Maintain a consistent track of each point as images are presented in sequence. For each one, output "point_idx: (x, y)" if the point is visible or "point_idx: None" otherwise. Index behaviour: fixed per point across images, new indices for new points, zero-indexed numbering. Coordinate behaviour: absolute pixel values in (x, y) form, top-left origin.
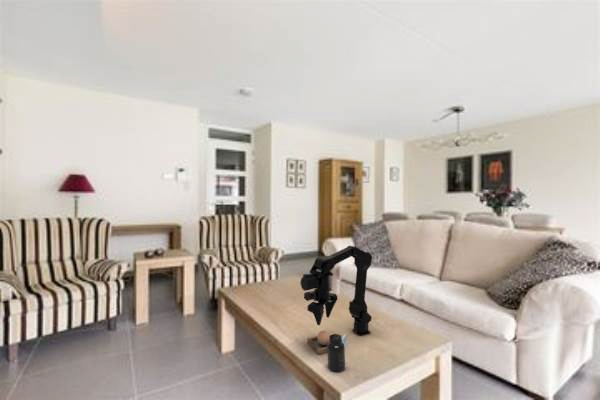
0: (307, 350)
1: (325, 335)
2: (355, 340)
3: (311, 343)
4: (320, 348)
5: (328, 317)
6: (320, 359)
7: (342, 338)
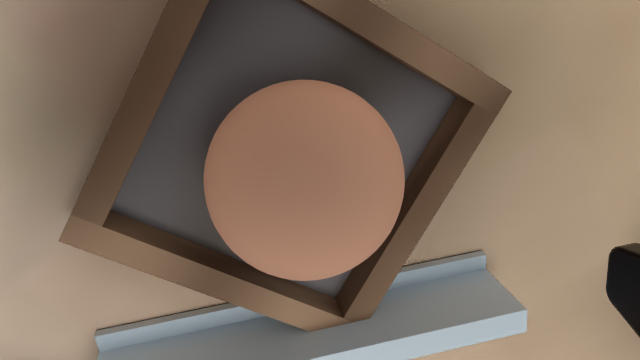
0: (55, 42)
1: (267, 267)
2: (558, 318)
3: (149, 45)
4: (185, 172)
5: (609, 297)
6: (24, 281)
7: (429, 346)
